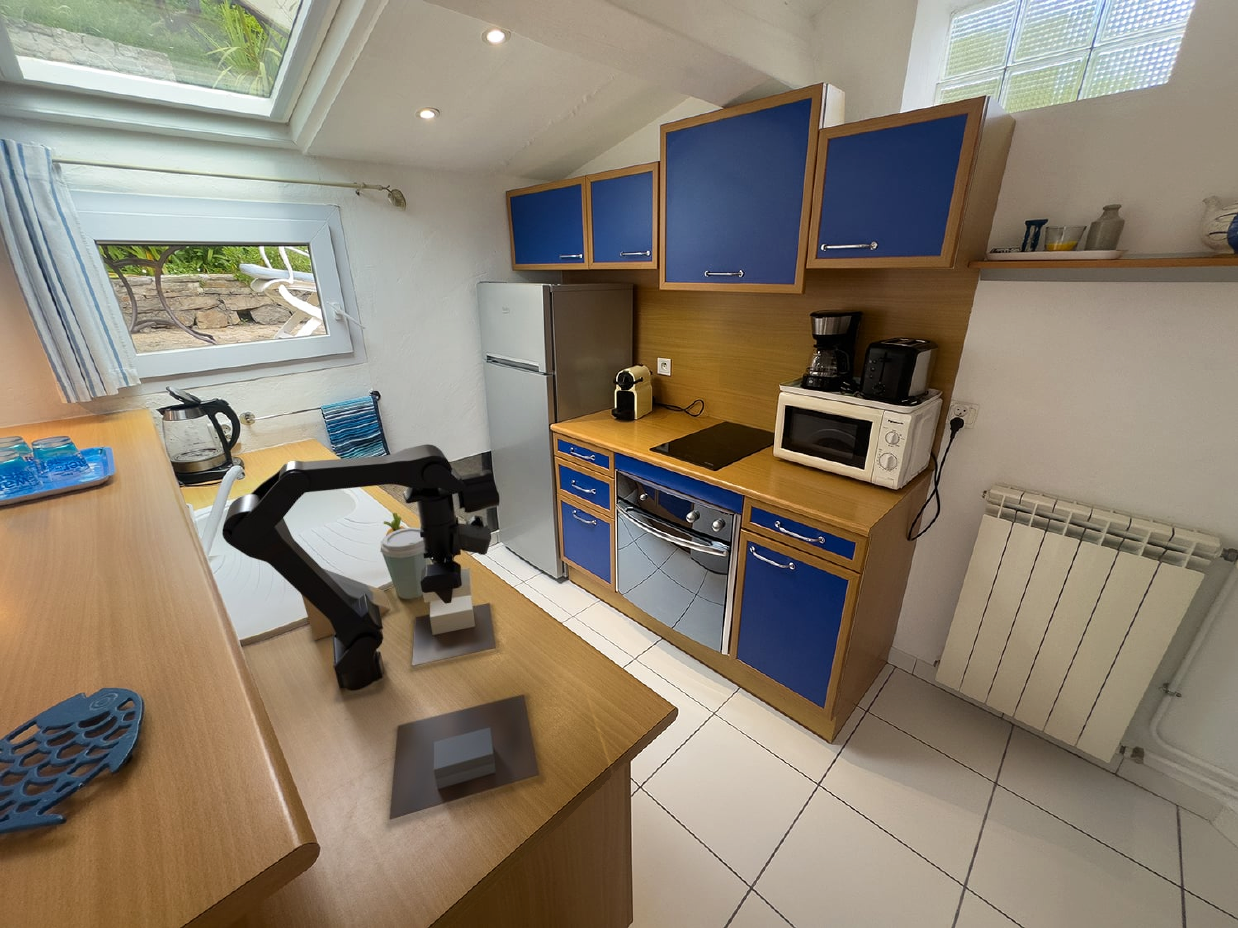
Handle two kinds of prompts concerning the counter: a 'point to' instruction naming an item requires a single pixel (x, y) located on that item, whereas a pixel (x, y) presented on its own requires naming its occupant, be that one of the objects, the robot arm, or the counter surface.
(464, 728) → the front board
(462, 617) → the cream books
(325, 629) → the sandwich container
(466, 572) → the cream book
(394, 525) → the carrot
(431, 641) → the back board
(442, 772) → the grey books
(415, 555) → the disposable coffee cup
